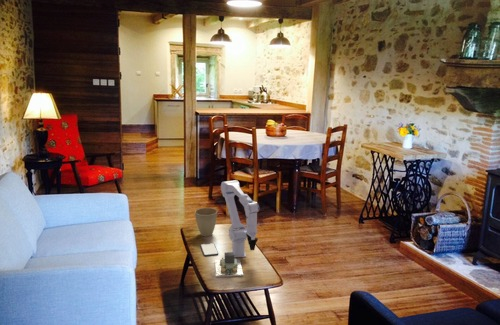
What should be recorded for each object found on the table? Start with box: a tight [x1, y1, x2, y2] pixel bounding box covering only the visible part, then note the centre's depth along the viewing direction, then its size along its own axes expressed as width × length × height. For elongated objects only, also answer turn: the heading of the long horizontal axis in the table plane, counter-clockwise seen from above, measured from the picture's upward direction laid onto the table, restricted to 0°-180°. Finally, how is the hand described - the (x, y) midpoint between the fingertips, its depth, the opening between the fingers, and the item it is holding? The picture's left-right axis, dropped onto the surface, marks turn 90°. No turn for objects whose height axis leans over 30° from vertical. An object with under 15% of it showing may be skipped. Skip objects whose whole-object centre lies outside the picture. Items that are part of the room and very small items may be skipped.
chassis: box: [214, 257, 244, 278], centre depth 226 cm, size 18×14×4 cm
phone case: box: [200, 242, 219, 257], centre depth 250 cm, size 9×2×16 cm
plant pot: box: [194, 207, 219, 237], centre depth 274 cm, size 15×15×16 cm
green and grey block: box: [221, 251, 238, 269], centre depth 225 cm, size 11×8×6 cm
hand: (251, 247), depth 230 cm, fingers open, 7 cm apart
